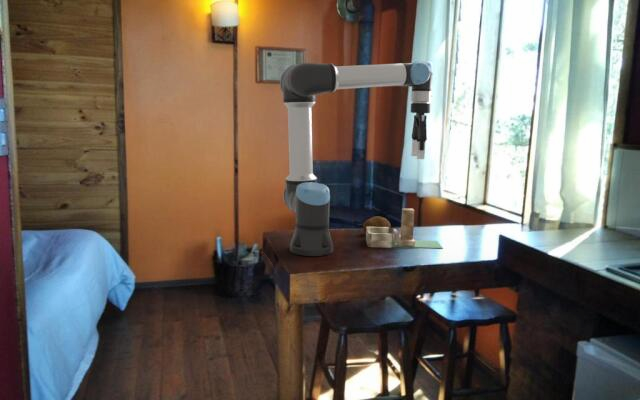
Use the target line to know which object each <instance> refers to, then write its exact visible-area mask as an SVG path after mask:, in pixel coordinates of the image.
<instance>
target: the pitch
mask: <svg viewBox="0 0 640 400" xmlns="http://www.w3.org/2000/svg"><path fill="white" fill-rule="evenodd" d="M414 240H415V246H399V245H395V243H394V241H393V239H392V245H391V248H409V249H410V248H411V249H413V248H414V249H440V250H443V248H444V247H443V246H442V245H441V244H440V243H439V241H438V240H421V239H420V240H419V239H418V240H417V239H414Z"/></svg>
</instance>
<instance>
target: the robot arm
mask: <svg viewBox="0 0 640 400" xmlns="http://www.w3.org/2000/svg"><path fill="white" fill-rule="evenodd" d="M433 66H434V65H433V63H432V62H431V61H429V60H427V61H424V60H423V61H421V60H420V61H418V60H417V61H414V62H405V63H402V62H401V63H381V64H359V65H357V64H356V65H342V66H341V65H340V66H339V65H337V66H336V65H334V63H319V62H318V63H317V62H316V63H315V62H300V63H298V64H297V63H296V64H292V65H290V66H288V67H287V68H286V69H284V71H283V72H282V74H281V76H280V80H279V87H280V90H281V92H282V100H283V101H282V102H283V105H285V107H286V109H287V123H288V129H287V130H288V132H287V133H288V162H289V163H288V165H289V168H288V169H289V174H288V175H287V176H286V178H285V188H284V190H283V194H282V195H283V197H282V198H283V202H284V204H285V206H286V207H287V208H288V210H290V211H291V212H292V213H295V229H294V232H293V234H292V235H293V236H292V238H291V241H290V243H289V246H290V247H289V251H290V253H293V254H295V255H299V256H304V257H305V256H307V257H318V256H319V257H320V256H321V257H323V256H327V255H330V254H332V253H333V252H334V244H333V240H332V237H331V234H330V229H329V227H330V226H329V225H330V206H331V205H330V204H331V203H330V202H331V201H330V200H331V194H330V187H328V186H327V185H326V184H324V183H318V177H317V176H316V175H315V174H314V170H313V169H314V167H313V165H314V164H313V162H314V161H313V160H314V159H313V123H312V122H313V121H312V116H313V115H312V108H313V107H314V106H315V104H316V96H318V95H323V94H330V93H331V94H333V93H334V92H336V90H346V89H348V90H349V89H361V88H363V89H365V88H378V87H411V95H410V97H411V98H410V101H411V104H410V113H412V114H414V115H413V124H412V132H411V139H412V141H411V157H416V159H417V160H425V157H426V156H425V152H426V141H427V140H428V139H427V138H428V137H427V115H425V114H430V113H431V106H432V105H431V103H430V102H431V100H432V97H433V96H434V95H433V93H432V87H433V75H434V71H433V69H434V67H433Z"/></svg>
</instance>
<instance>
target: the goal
mask: <svg viewBox="0 0 640 400" xmlns="http://www.w3.org/2000/svg"><path fill="white" fill-rule="evenodd" d="M389 230H390V229H389V227H366V233H365V241H366V245H367V248H389V249H391V248H392V247H391V245H392V240H393V233H389Z"/></svg>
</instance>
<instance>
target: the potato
mask: <svg viewBox="0 0 640 400" xmlns="http://www.w3.org/2000/svg"><path fill="white" fill-rule="evenodd" d="M366 227H389V230H390V229H391V223H390V221H389V219H387V218H386V217H383V216H378V215H376V216H372V217H370V218H367V219H366V220H365V221H364V222H363V224H362V230H363V232H364V234H366Z"/></svg>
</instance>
